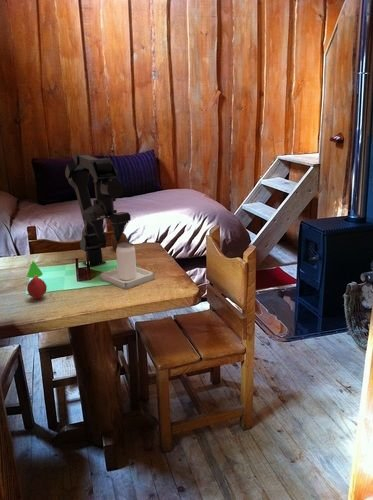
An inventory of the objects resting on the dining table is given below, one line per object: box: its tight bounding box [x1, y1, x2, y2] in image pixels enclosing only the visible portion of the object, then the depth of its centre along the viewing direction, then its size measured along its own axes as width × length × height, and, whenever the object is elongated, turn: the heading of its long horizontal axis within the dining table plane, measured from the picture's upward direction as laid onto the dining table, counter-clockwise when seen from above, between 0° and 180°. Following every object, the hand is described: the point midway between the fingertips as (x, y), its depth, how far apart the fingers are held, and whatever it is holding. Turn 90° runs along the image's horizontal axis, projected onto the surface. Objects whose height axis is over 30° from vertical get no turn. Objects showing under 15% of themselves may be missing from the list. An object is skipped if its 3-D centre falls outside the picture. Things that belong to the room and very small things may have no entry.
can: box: [115, 242, 137, 281], centre depth 160 cm, size 6×6×12 cm
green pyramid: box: [26, 260, 44, 279], centre depth 167 cm, size 6×6×6 cm
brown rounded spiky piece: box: [110, 226, 128, 252], centre depth 192 cm, size 7×6×15 cm
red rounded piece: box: [26, 275, 48, 300], centre depth 146 cm, size 6×6×8 cm
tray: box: [100, 266, 156, 291], centre depth 161 cm, size 14×13×2 cm
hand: (108, 240), depth 161 cm, fingers open, 9 cm apart
